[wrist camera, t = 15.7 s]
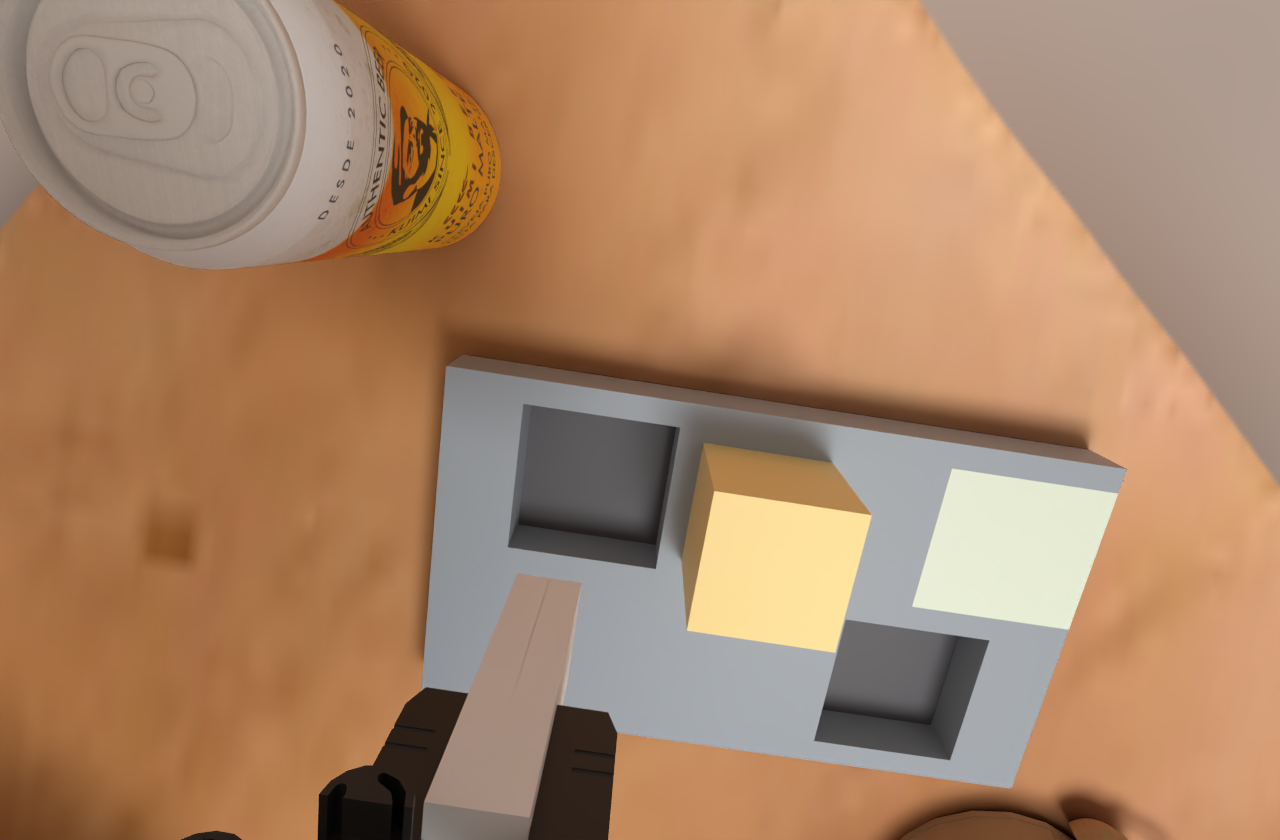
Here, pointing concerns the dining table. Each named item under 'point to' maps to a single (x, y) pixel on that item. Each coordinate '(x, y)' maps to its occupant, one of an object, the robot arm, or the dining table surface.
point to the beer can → (241, 129)
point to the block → (771, 548)
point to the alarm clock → (1007, 828)
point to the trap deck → (745, 669)
